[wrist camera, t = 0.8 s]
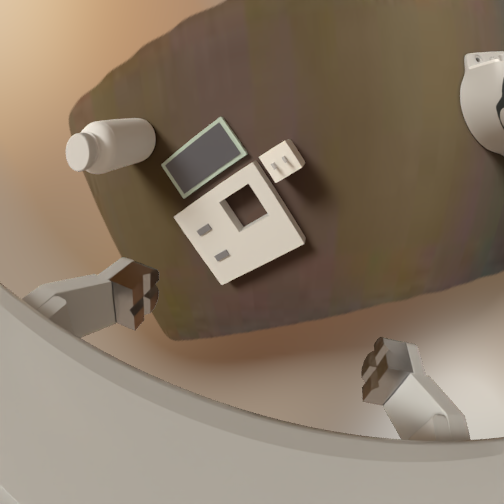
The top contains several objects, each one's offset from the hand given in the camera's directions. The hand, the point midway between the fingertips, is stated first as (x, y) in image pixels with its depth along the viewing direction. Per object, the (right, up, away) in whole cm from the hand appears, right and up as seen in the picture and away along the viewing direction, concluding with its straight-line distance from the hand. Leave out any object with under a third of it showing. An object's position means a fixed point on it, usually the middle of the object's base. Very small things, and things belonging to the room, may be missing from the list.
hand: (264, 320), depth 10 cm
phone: (-8, +17, +34) cm, 39 cm away
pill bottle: (-20, +22, +35) cm, 45 cm away
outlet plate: (-2, +7, +36) cm, 37 cm away
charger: (+5, +16, +30) cm, 35 cm away
